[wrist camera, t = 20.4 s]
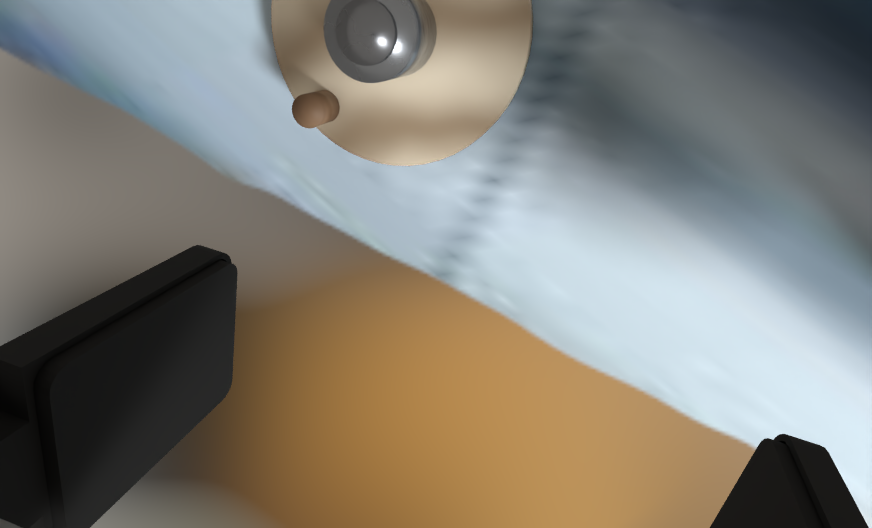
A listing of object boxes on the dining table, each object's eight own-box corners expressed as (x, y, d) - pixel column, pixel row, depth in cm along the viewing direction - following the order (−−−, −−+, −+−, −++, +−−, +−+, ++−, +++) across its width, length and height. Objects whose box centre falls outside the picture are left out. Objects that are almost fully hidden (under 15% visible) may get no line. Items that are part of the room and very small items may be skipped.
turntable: (552, 137, 34) (547, 150, 31) (323, 178, 39) (296, 193, 36) (507, -168, 29) (494, -196, 25) (250, -75, 34) (210, -88, 31)
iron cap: (444, -6, 31) (419, -12, 27) (428, 85, 33) (402, 93, 29) (361, -23, 32) (324, -32, 28) (351, 66, 34) (315, 72, 30)
